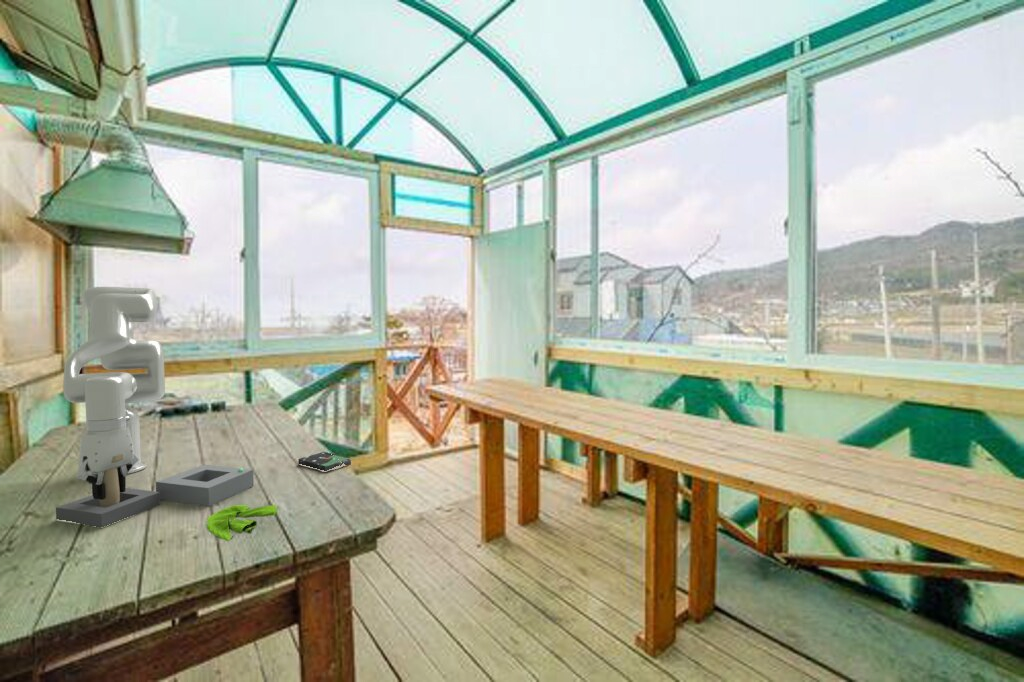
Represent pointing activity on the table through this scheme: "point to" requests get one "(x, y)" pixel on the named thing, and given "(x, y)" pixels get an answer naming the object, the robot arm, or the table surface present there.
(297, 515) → the table surface
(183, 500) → the port block
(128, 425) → the robot arm
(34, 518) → the table surface
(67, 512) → the grey square frame
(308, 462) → the disk drive
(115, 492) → the handle
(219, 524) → the cloth
